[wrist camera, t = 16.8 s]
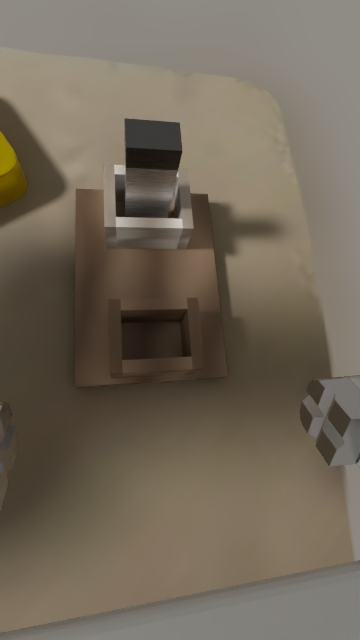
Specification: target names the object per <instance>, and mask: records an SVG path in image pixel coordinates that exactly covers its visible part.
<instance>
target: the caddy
mask: <svg viewBox="0 0 360 640" xmlns="http://www.w3.org/2000/svg"><path fill="white" fill-rule="evenodd" d="M103 173H104V190H93V189H76V237H75V348H74V386H75V387H87V386H103V385H119V384H134V383H150V382H166V381H181V380H197V379H213V378H224V377H227V376H228V372H227V363H226V354H225V345H224V336H223V327H222V318H221V309H220V300H219V291H218V282H217V274H216V265H215V256H214V247H213V238H212V229H211V220H210V211H209V202H208V194H193V193H190V186H189V175H188V169H181V168H178V173H177V177H176V182H175V186H174V191H173V195H172V200H171V204H170V209H169V213H168V218H137V217H125V166H124V165H105V164H103Z"/></svg>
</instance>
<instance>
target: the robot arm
mask: <svg viewBox="0 0 360 640" xmlns="http://www.w3.org/2000/svg"><path fill="white" fill-rule="evenodd" d="M306 391H307V393H308V395H309V396H307V397H306V398H305V399H304V400H303V401H302V403H301V407H300V419H301V422H302V425H303V427H304V429H305V430H306V432H307V433H308V434H309V435H311V436H312V437H314V438H315V439H317V440H316V447H317V449H318V450H319V452H320V453H321V455H322V456H323V458H324V459H325V461H326V462H327V464H328V465H329V466H339V465H347V464H357V466H358V467H360V375H357V376H346V377H336V378H324V379H312V380H311V381H310V382H309V383H308V386H307V389H306ZM11 415H12V412H11V409H10V405H9V404H8V403H6V402H1V403H0V511H1V508H2V504H3V501H4V497H5V494H6V490H7V487H8V484H9V482H8V479H7V475H6V473H7V472H8V471H9V470H10V469H11V468H12V467H13V466H14V462H15V458H16V454H17V444H18V441H17V432H16V427H15V426H14V425H12V424H11V423H9V421H10V418H11ZM0 640H360V560H359V561H354V562H349V563H344V564H339V565H334V566H329V567H324V568H319V569H314V570H310V571H305V572H300V573H295V574H290V575H285V576H280V577H275V578H270V579H265V580H260V581H255V582H250V583H245V584H240V585H235V586H230V587H225V588H220V589H216V590H211V591H206V592H201V593H196V594H191V595H186V596H181V597H176V598H171V599H166V600H161V601H156V602H151V603H146V604H141V605H136V606H131V607H127V608H122V609H117V610H112V611H107V612H102V613H97V614H92V615H87V616H82V617H77V618H72V619H67V620H62V621H58V622H53V623H48V624H43V625H38V626H33V627H28V628H23V629H18V630H13V631H8V632H3V633H0Z"/></svg>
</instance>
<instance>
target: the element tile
mask: <svg viewBox="0 0 360 640" xmlns="http://www.w3.org/2000/svg"><path fill="white" fill-rule="evenodd" d="M27 187H28V186H27V179H26V177H25V174H24V172H23V169H22V167H21V165H20V162H19V160H18V158H17V155H16V153H15V151H14V149H13V148H12V147H11V145H10V144H9V142H8V141H7V140H6V138H5V137H4V135H3V134H2V132H1V131H0V207H2V206H4V205H7V204H9V203H11V202H13V201H15V200H17V199H19V198H20V197H21V196H22V195H23V194H24V193H25V192H26V190H27Z"/></svg>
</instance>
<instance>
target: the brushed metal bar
mask: <svg viewBox="0 0 360 640" xmlns="http://www.w3.org/2000/svg"><path fill="white" fill-rule="evenodd" d="M181 154H182V143H181V132H180V123H176V122H163V121H150V120H137V119H125V217H137V218H168V213H169V209H170V204H171V200H172V195H173V191H174V186H175V182H176V177H177V173H178V168H179V163H180V159H181Z"/></svg>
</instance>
